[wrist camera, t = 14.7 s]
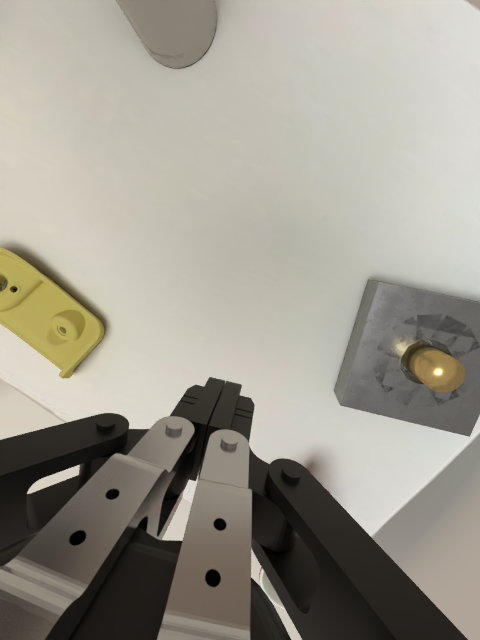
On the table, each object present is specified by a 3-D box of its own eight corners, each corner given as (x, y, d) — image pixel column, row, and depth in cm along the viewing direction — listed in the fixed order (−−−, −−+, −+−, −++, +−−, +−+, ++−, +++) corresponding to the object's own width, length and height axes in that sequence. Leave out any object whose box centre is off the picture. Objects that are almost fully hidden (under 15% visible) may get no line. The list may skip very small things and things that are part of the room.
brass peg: (399, 333, 38) (431, 353, 30) (430, 340, 37) (471, 361, 30) (390, 361, 39) (418, 387, 31) (420, 368, 38) (457, 396, 30)
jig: (368, 279, 37) (379, 282, 33) (498, 306, 35) (525, 312, 32) (334, 390, 40) (340, 405, 37) (450, 418, 39) (469, 436, 35)
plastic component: (107, 328, 40) (54, 385, 38) (117, 330, 48) (72, 377, 46) (-13, 230, 38) (-77, 285, 36) (17, 247, 45) (-36, 294, 43)
